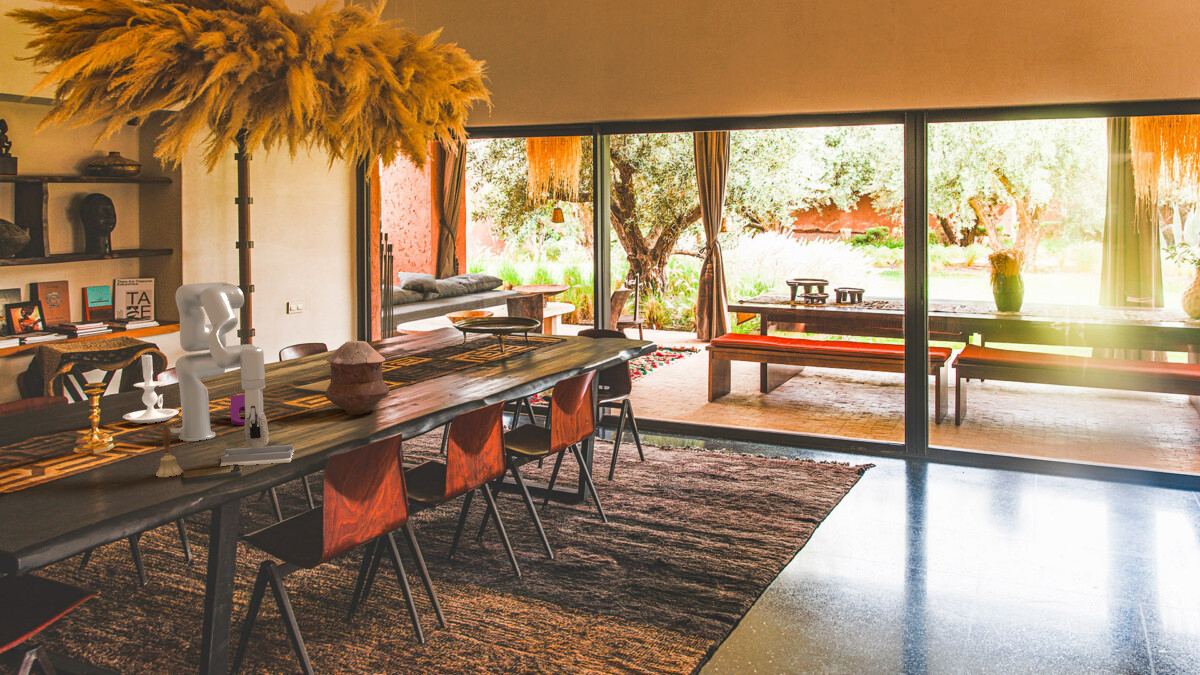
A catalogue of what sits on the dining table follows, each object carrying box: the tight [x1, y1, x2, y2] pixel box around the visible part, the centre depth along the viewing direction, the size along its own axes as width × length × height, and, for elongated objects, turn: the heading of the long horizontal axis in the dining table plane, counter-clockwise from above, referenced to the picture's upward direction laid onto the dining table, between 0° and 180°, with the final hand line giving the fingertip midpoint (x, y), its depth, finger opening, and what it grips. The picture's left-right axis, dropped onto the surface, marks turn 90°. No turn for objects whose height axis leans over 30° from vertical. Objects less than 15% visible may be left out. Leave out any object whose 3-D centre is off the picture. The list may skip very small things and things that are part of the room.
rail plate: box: [220, 444, 295, 467], centre depth 319 cm, size 22×14×3 cm, turn 103°
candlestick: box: [122, 353, 180, 424], centre depth 379 cm, size 21×25×28 cm
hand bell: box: [155, 424, 184, 478], centre depth 301 cm, size 8×8×16 cm
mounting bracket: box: [230, 394, 245, 426], centre depth 378 cm, size 10×8×18 cm
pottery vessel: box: [324, 340, 390, 415], centre depth 391 cm, size 26×26×30 cm
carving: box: [244, 411, 270, 448], centre depth 317 cm, size 6×8×12 cm
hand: (256, 435), depth 318 cm, fingers closed on carving, 6 cm apart
